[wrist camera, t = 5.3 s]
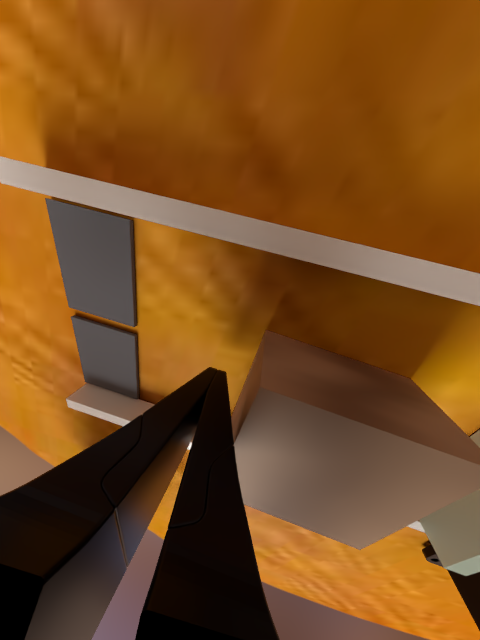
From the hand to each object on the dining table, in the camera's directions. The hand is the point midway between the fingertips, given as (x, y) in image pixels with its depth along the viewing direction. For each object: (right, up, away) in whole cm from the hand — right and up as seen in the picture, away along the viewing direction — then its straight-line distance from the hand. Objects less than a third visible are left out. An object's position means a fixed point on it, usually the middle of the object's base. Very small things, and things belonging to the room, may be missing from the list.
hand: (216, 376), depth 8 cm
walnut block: (+5, -2, +2) cm, 5 cm away
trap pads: (-7, +3, +2) cm, 7 cm away
